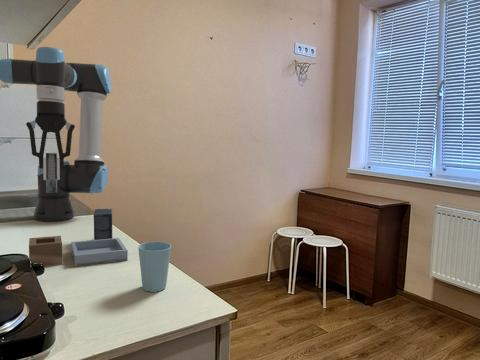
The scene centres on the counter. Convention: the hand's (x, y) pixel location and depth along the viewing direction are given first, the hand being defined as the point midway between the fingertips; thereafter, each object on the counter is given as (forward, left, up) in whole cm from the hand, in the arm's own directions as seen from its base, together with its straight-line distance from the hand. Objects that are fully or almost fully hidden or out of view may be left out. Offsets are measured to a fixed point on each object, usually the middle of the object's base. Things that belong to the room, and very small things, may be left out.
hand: (51, 179), depth 118 cm
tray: (+13, +12, -22) cm, 28 cm away
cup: (+42, +21, -22) cm, 51 cm away
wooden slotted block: (+13, -2, -22) cm, 25 cm away
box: (-2, +15, -22) cm, 27 cm away
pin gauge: (0, 0, -4) cm, 4 cm away
